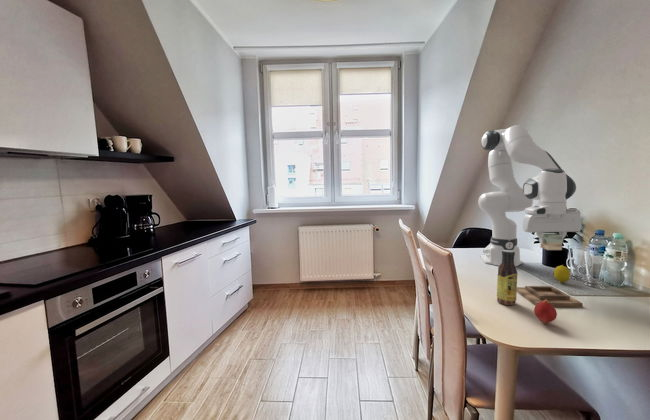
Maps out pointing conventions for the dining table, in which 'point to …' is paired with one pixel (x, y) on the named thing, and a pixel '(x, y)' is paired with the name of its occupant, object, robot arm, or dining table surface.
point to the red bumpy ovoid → (545, 312)
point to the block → (552, 241)
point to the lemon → (562, 274)
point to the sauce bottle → (507, 279)
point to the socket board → (548, 296)
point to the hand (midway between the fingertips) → (550, 242)
